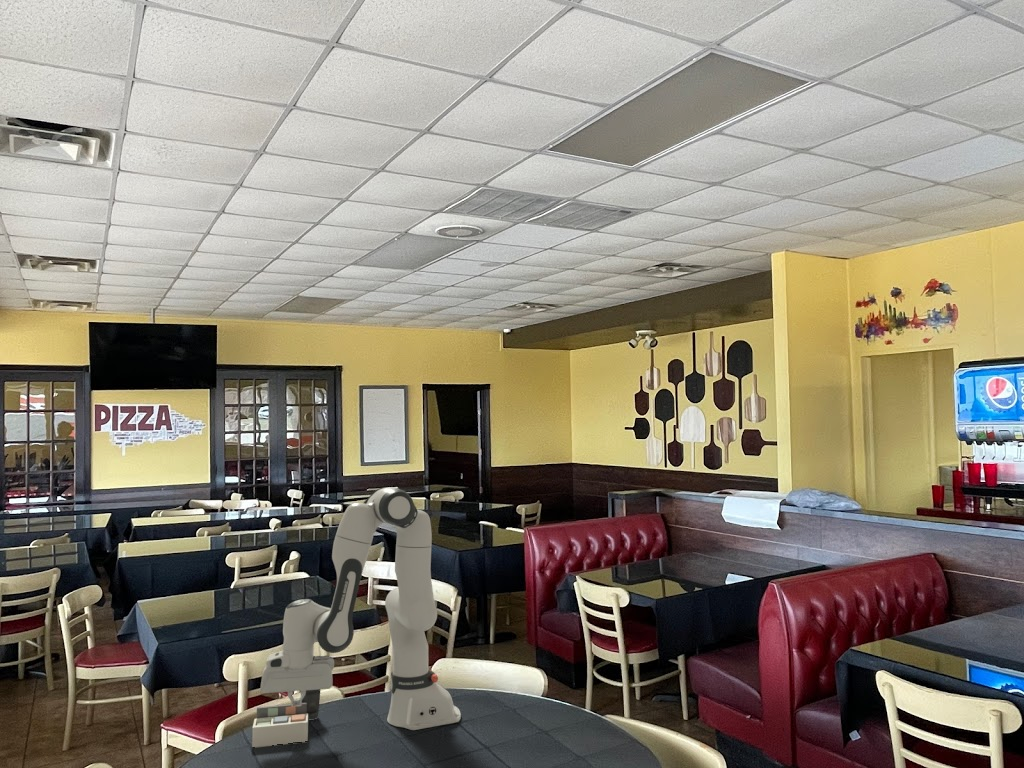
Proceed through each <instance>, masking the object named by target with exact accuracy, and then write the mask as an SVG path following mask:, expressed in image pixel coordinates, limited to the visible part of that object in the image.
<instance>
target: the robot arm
mask: <svg viewBox="0 0 1024 768" xmlns="http://www.w3.org/2000/svg"><path fill="white" fill-rule="evenodd" d="M431 523H432V522H431V518H430V516H429V514H428V513H427V512H425V511H424V510H421V509H417V507H416V505H415V503H414V500H413V498H412V497H411V496H410V494H408V492H407V491H405V490H403V489H400V488H397V487H393V486H391V487H390V486H389V487H388V486H383V487H379V488H377V489H375V490H374V491H373V492H372V493H371V494H370V495H369V496H368V497H367V499H365V500H364V501H363V502H354V503H351V504H349V505H348V506H347V508H346V509H345V511H344V513H343V515H342V517H341V520H340V522H339V524H338V528H337V530H336V533H335V537H334V540H333V545H332V551H331V552H332V553H331V560H332V562H333V565H334V569H335V572H336V586H335V587H336V588H335V591H334V595H333V599H332V604H331V606H330V607H328V606H323V605H320V604H318V603H316V601H315V602H314V601H313V600H312V599H311V598H305V599H304V598H302V599H297V600H295V601H292V602H291V603H289V604H287V606H286V607H285V611H284V614H283V621H282V622H283V623H282V635H283V644H282V648H281V649H282V650H280V651H277V652H274V653H271V654H268V655H267V657H266V660H265V664H266V665H265V667H264V668H263V671H262V676H261V680H260V681H261V682H260V689H259V690H260V692H262V694H271V693H284V692H285V693H287V696H288V699H289V700H290V704H291V707H295V706H302V700H303V698H304V696H305V694H306V690H318V689H321V690H329V689H331V688H332V687H333V685H334V684H333V681H334V680H333V670H334V668H335V659H334V658H333V657H332V656H330V655H314V654H315V653H314V650H315V647H314V645H315V644H316V643H318V644H319V646H320V648H321V649H322V650H323V651H325V652H327V653H330V654H336V653H340V652H343V651H344V650H345V649H347V648H348V647H349V646H350V644H351V643H352V642H353V638H354V633H355V632H354V624H353V614H354V610H355V605H356V600H357V596H358V592H359V588H360V583H361V579H362V575H363V571H364V569H365V565H366V563H367V560H368V556H369V553H370V551H371V548H372V543H373V539H374V534H375V533H376V531H377V529H378V528H379V526H381V525H382V524H389V525H393V526H394V527H395V530H396V544H395V558H394V559H395V561H394V572H395V576H396V581H397V587H395V588H393V589H391V590H390V591H389V592H388V594H387V595H386V598H385V600H384V601H385V603H384V605H385V606H384V607H385V610H386V613H387V619H388V627H389V632H390V633H389V634H390V639H391V648H392V649H391V650H392V655H391V657H392V672H391V674H390V692H391V698H390V706H389V710H388V715H387V719H386V721H387V723H388V724H389V725H392V726H394V727H398V728H405V729H408V730H410V731H416V730H422V729H427V728H433V727H438V726H443V725H450V724H454V723H459V722H460V720H461V719H462V714H461V711H460V709H459V708H458V706H456V705H454V702H453V698H452V696H451V694H450V692H449V691H448V690H447V689H445V688H444V687H442V686H441V685H439V684H438V683H437V682H438V680H439V678H438V677H439V676H438V675H437V674H436V673H435V672H434V671H433V670H432V669H429V643H428V640H427V637H426V634H425V632H426V631H428V630H429V629H431V628H432V627H433V626H434V625H435V623H436V621H437V619H438V609H437V606H436V604H435V599H434V591H433V590H434V589H433V583H432V582H433V581H432V571H431V567H432V566H431V563H432V541H433V537H432V536H433V535H432V526H431V525H432V524H431ZM293 692H300V697H299V698H295V697H294V696H293ZM301 694H302V695H301Z"/></svg>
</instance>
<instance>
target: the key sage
mask: <svg viewBox="0 0 1024 768" xmlns="http://www.w3.org/2000/svg"><path fill="white" fill-rule="evenodd" d="M267 724H270V722H260V723H257V725H267Z"/></svg>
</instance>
